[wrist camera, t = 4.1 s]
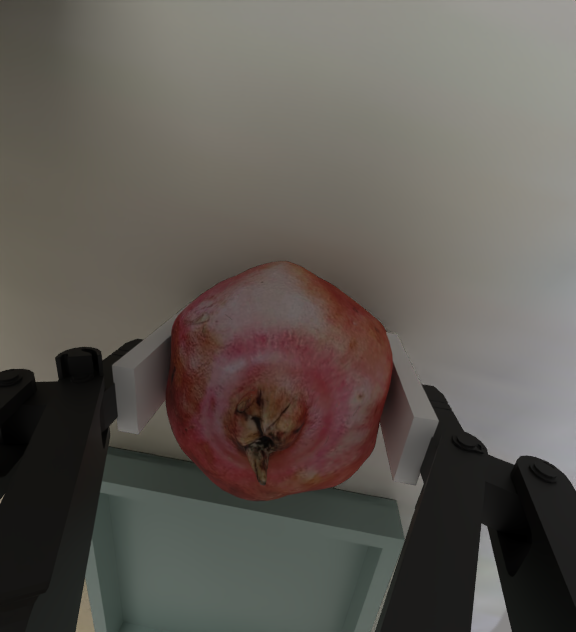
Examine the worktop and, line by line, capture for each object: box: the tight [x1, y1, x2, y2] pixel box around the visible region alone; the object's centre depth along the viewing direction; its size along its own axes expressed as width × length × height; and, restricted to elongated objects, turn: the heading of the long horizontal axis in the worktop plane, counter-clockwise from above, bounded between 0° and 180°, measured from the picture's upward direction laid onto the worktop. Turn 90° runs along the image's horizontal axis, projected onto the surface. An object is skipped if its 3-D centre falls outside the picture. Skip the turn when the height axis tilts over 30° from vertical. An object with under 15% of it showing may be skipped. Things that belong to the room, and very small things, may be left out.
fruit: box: [166, 261, 393, 501], centre depth 13 cm, size 9×10×10 cm
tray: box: [85, 447, 405, 632], centre depth 24 cm, size 20×20×2 cm
